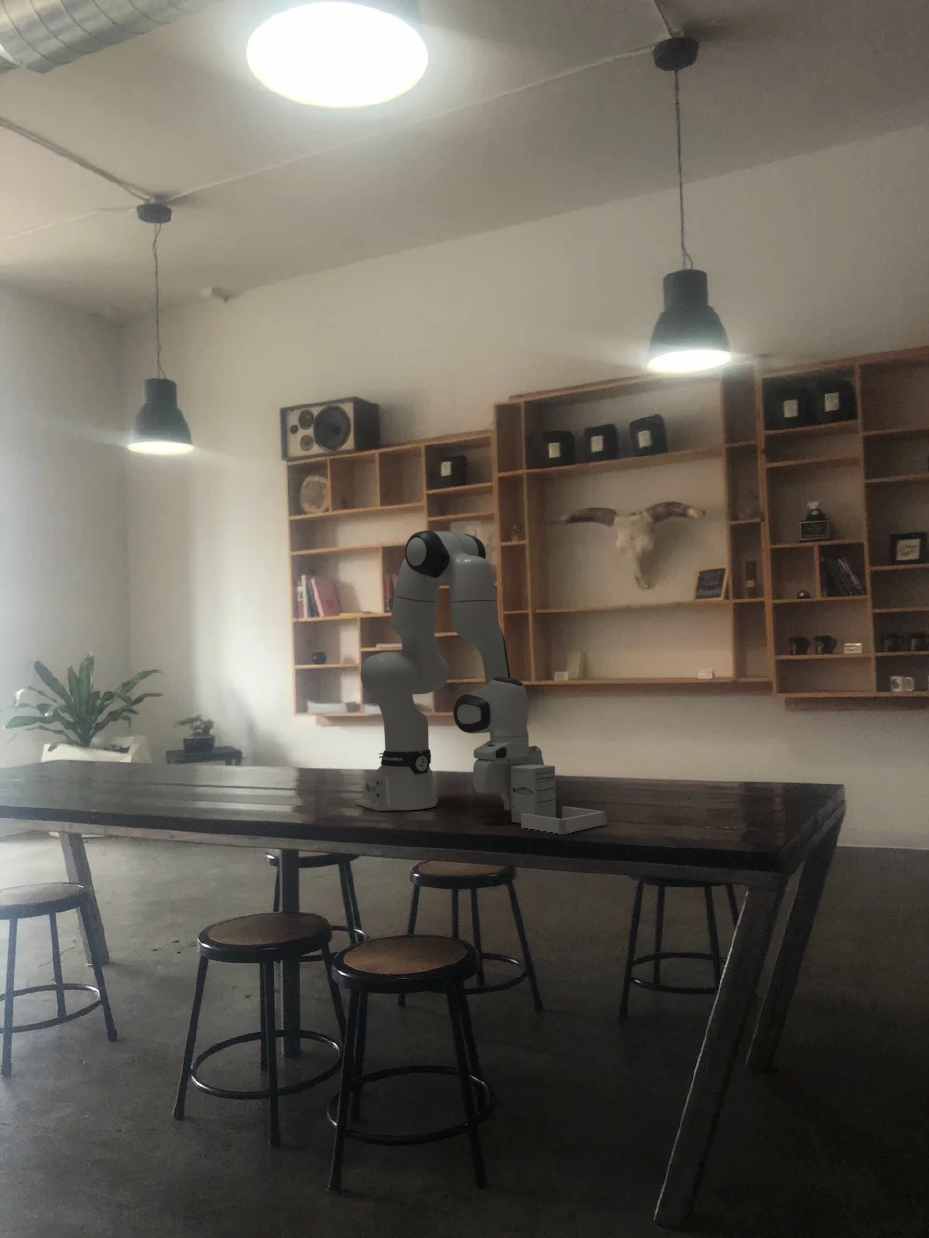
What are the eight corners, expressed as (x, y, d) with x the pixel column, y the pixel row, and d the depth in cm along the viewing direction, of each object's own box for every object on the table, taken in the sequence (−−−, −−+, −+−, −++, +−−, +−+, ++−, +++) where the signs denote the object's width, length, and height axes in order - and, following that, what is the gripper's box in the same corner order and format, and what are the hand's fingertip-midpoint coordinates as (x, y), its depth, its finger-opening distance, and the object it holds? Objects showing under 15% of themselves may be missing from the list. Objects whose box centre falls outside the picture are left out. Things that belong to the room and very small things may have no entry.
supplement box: (510, 822, 211) (509, 765, 211) (532, 818, 216) (531, 762, 216) (535, 826, 205) (533, 768, 206) (557, 821, 211) (555, 764, 211)
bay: (521, 828, 204) (521, 814, 204) (565, 819, 213) (564, 806, 213) (562, 834, 195) (562, 820, 195) (606, 825, 204) (606, 811, 204)
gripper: (531, 744, 226) (532, 802, 225) (467, 751, 212) (469, 813, 212) (550, 745, 221) (552, 804, 221) (487, 752, 208) (488, 816, 207)
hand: (511, 809), depth 216 cm, fingers closed
